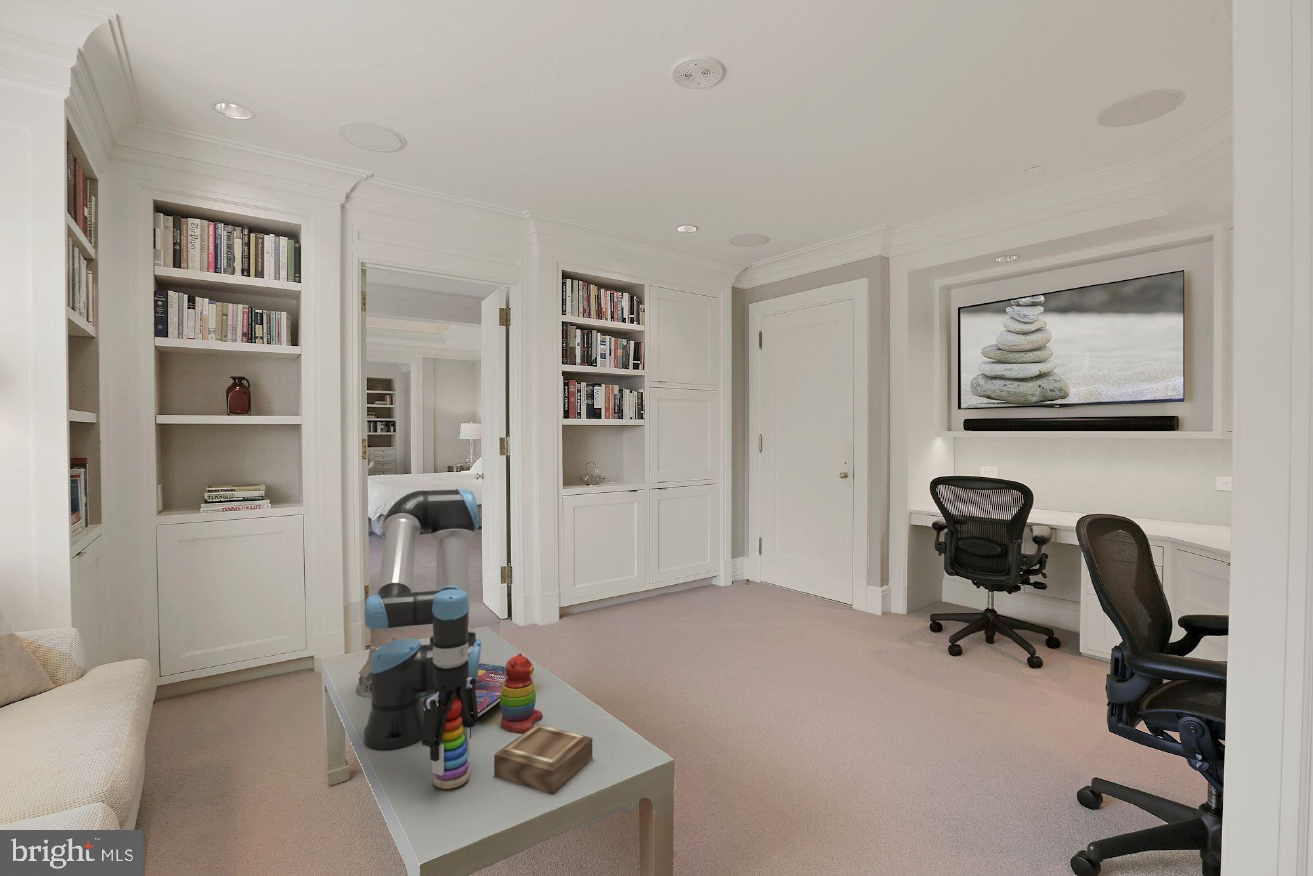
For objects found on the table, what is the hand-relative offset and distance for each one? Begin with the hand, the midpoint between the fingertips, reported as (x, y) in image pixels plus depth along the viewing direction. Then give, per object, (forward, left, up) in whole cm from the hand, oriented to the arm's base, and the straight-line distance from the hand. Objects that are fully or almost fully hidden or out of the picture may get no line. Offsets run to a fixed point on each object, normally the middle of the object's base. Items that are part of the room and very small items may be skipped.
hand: (451, 764), depth 138 cm
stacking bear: (-4, +29, -4) cm, 29 cm away
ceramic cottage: (-53, +29, -4) cm, 60 cm away
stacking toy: (0, 0, -4) cm, 4 cm away
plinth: (+15, +14, -4) cm, 21 cm away
